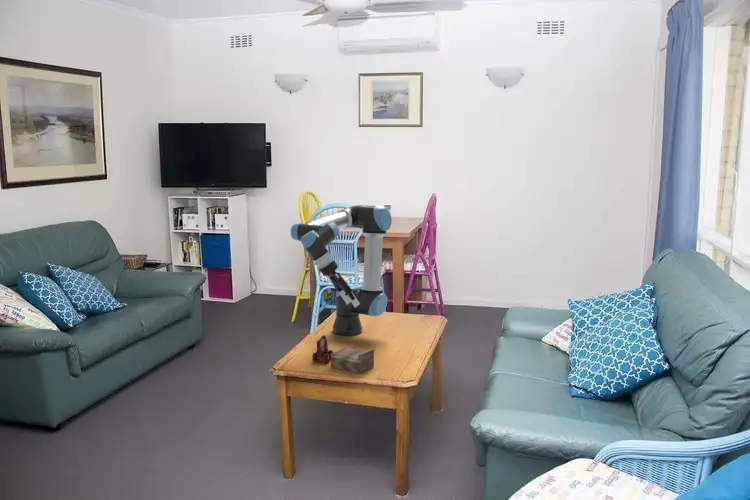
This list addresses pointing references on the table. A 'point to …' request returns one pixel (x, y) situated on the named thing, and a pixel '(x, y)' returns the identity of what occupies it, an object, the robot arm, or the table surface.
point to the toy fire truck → (322, 351)
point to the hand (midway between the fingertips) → (353, 304)
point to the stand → (353, 360)
